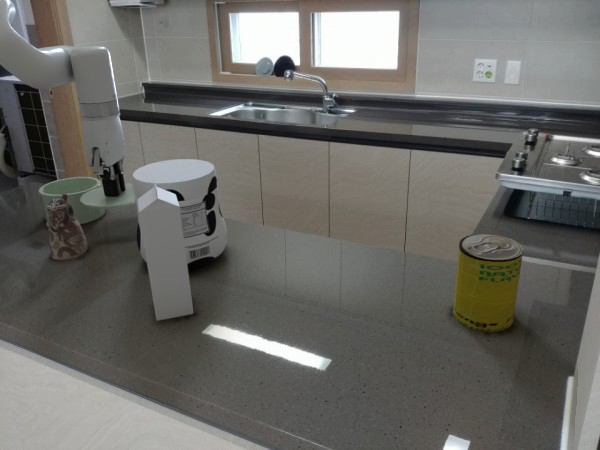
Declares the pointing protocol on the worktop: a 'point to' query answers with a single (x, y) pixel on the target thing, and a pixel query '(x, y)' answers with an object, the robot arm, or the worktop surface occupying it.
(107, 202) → the bowl lid
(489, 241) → the beverage can
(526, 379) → the worktop surface
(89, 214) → the bowl
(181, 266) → the milk
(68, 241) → the figurine
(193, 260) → the milk container
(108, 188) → the robot arm
